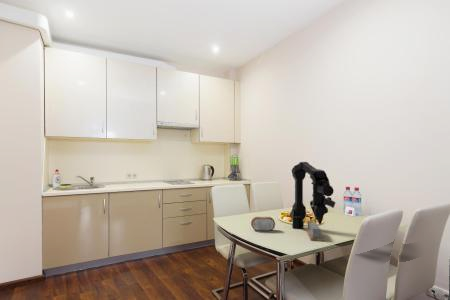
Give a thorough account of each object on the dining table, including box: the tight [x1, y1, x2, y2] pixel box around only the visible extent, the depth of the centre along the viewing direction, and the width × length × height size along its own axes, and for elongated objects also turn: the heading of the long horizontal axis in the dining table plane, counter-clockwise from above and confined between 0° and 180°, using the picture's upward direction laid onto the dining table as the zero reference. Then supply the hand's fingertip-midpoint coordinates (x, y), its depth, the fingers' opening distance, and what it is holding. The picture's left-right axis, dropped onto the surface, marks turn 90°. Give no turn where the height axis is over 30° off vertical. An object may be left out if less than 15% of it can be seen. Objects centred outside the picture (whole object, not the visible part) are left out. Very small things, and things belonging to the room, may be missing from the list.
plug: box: [309, 222, 321, 238], centre depth 149 cm, size 4×12×5 cm, turn 170°
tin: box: [250, 216, 276, 232], centre depth 160 cm, size 15×3×8 cm, turn 92°
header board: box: [305, 220, 325, 242], centre depth 151 cm, size 7×19×6 cm, turn 170°
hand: (318, 221), depth 139 cm, fingers open, 8 cm apart
